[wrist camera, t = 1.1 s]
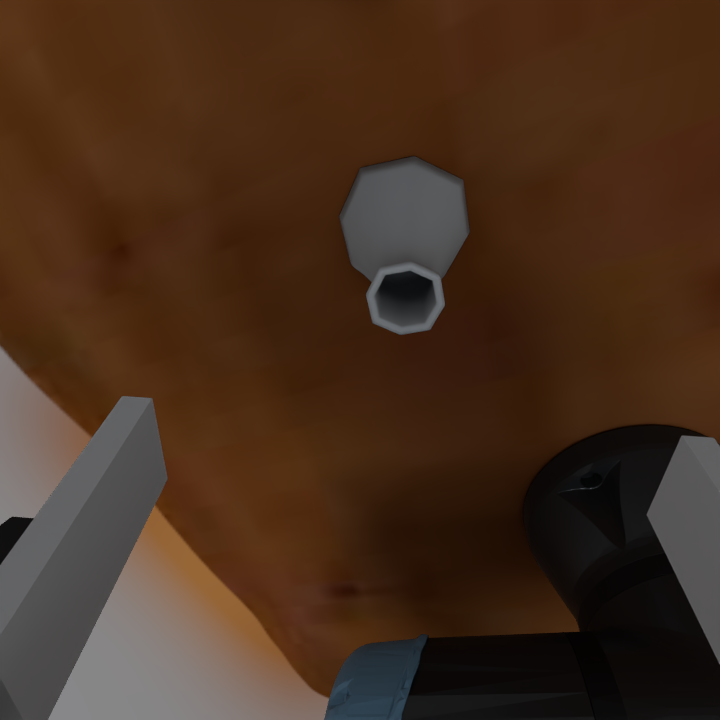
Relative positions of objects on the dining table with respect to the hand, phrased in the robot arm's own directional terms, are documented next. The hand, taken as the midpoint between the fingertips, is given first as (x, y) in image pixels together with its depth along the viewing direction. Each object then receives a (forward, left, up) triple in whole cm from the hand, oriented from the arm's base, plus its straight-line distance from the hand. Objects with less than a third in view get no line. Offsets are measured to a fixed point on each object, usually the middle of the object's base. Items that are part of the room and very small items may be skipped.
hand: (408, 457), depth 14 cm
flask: (0, 0, -20) cm, 20 cm away
